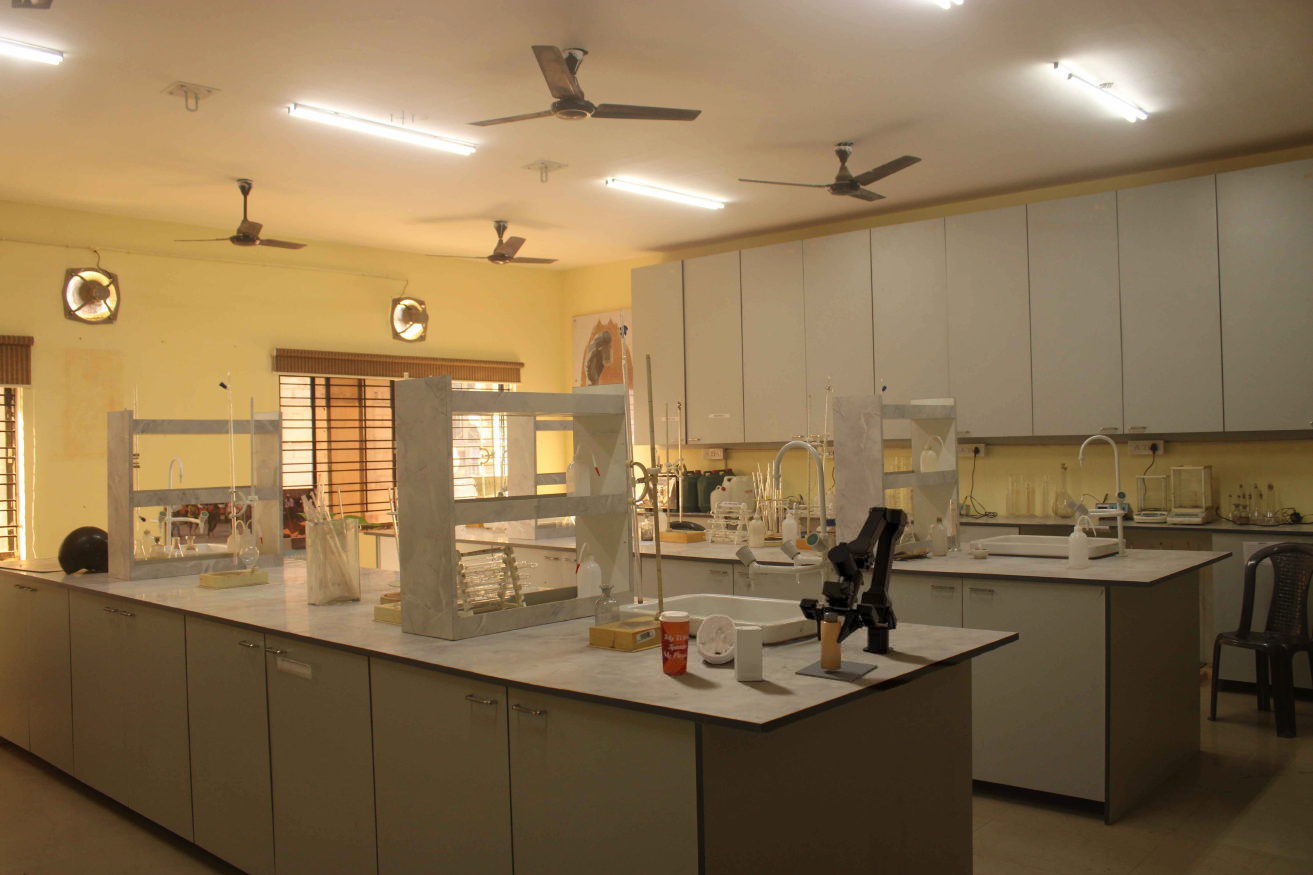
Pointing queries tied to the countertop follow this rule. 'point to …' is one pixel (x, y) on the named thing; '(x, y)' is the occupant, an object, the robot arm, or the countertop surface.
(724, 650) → the skull bowl
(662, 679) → the countertop surface
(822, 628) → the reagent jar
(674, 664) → the paper cup
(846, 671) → the rubber mat
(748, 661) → the skincare box
